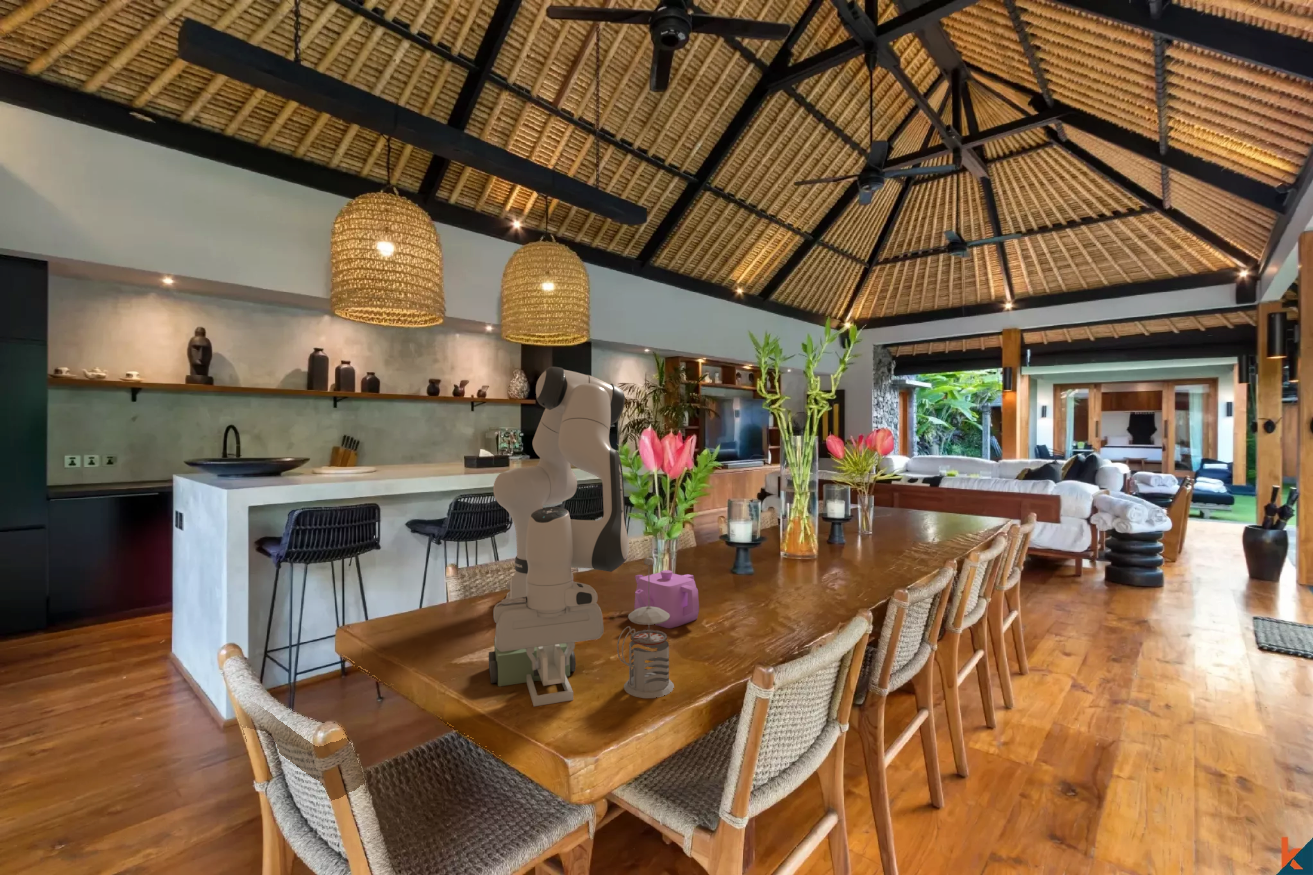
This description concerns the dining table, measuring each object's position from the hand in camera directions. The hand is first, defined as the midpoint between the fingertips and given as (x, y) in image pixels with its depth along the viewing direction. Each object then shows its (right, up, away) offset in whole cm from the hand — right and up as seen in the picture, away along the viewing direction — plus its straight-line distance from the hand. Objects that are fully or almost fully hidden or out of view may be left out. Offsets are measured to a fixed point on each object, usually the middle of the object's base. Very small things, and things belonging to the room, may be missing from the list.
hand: (550, 666), depth 109 cm
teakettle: (+22, -4, +41) cm, 47 cm away
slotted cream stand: (0, -2, 0) cm, 2 cm away
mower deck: (-4, -4, +4) cm, 7 cm away
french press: (+18, -5, +1) cm, 19 cm away
